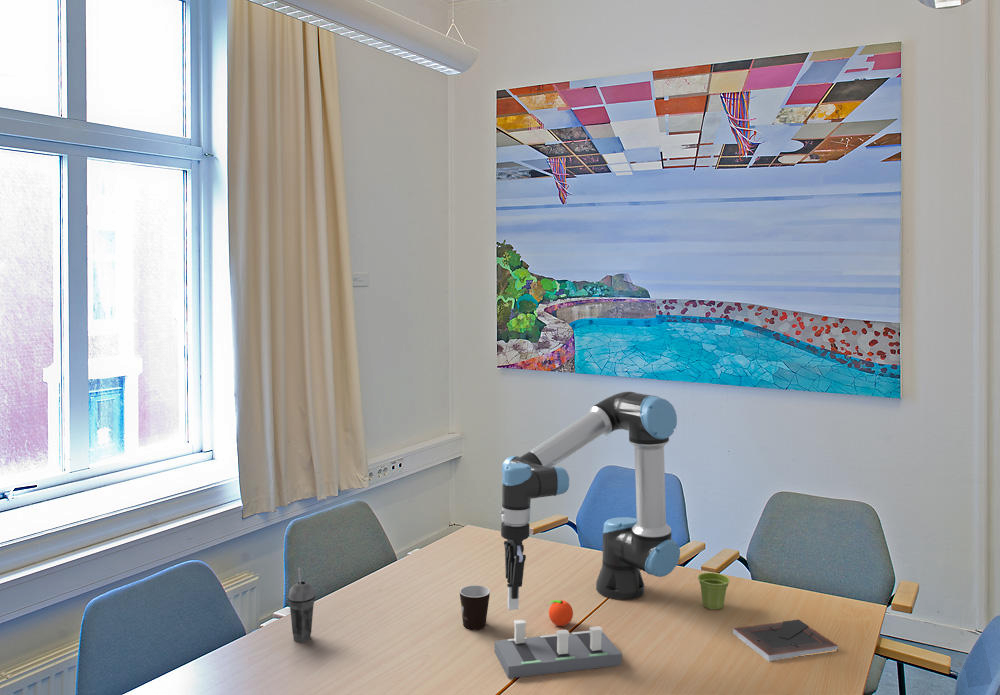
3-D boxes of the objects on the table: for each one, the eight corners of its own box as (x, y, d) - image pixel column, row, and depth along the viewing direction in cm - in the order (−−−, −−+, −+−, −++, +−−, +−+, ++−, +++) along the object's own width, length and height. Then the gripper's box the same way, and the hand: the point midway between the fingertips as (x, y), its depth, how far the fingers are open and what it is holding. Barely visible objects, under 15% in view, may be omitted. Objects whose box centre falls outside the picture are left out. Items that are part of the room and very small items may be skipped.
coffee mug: (485, 633, 215) (486, 598, 214) (455, 630, 217) (456, 595, 216) (494, 616, 226) (495, 582, 225) (465, 613, 228) (466, 580, 227)
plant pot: (694, 609, 233) (695, 581, 233) (699, 597, 242) (700, 570, 241) (726, 614, 230) (728, 586, 229) (730, 602, 239) (731, 575, 238)
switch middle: (566, 650, 199) (566, 629, 198) (568, 653, 197) (569, 632, 196) (555, 651, 198) (556, 630, 197) (558, 655, 196) (558, 634, 196)
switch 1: (523, 639, 204) (524, 619, 204) (525, 643, 202) (526, 622, 202) (513, 640, 203) (513, 620, 203) (515, 644, 201) (515, 623, 201)
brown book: (798, 627, 224) (732, 636, 218) (798, 619, 223) (733, 627, 217) (838, 654, 208) (768, 663, 202) (838, 645, 208) (769, 654, 202)
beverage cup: (321, 634, 213) (320, 563, 211) (306, 646, 206) (305, 573, 204) (298, 630, 215) (297, 560, 213) (282, 641, 208) (281, 569, 206)
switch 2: (599, 646, 201) (599, 626, 200) (602, 650, 199) (602, 629, 198) (589, 647, 200) (589, 627, 200) (591, 651, 198) (592, 630, 198)
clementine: (541, 627, 220) (542, 602, 219) (548, 617, 226) (549, 593, 226) (569, 631, 217) (569, 607, 216) (575, 621, 223) (576, 597, 223)
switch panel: (600, 640, 212) (601, 629, 212) (621, 665, 198) (621, 653, 198) (494, 651, 204) (494, 640, 204) (508, 678, 191) (508, 665, 191)
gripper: (495, 515, 211) (493, 600, 213) (508, 530, 199) (505, 620, 201) (522, 514, 213) (519, 598, 215) (536, 529, 201) (533, 617, 202)
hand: (512, 608), depth 208 cm, fingers closed
